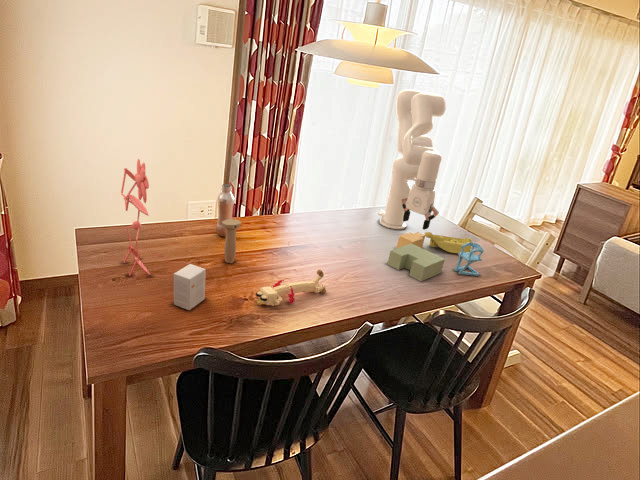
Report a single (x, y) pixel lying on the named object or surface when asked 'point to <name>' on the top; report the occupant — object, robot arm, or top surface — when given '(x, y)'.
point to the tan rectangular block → (411, 239)
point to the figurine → (137, 206)
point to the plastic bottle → (224, 207)
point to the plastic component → (449, 243)
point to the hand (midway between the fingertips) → (415, 224)
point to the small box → (189, 286)
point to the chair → (469, 259)
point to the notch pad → (416, 261)
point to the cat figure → (288, 290)
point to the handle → (230, 239)
